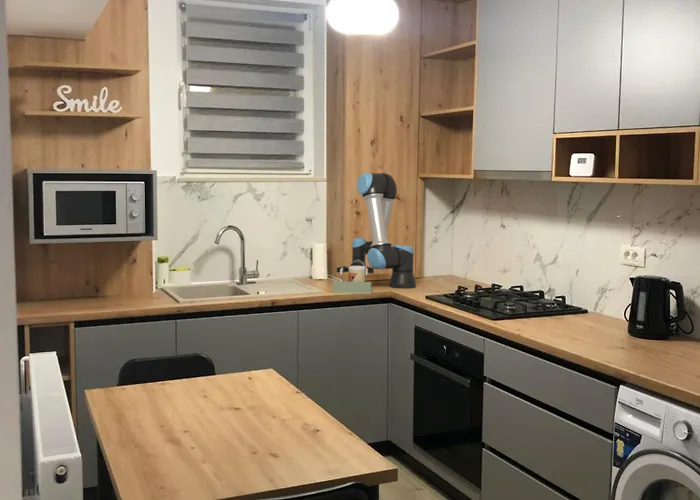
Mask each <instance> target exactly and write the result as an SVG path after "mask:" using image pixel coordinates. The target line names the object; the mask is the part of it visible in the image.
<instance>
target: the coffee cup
mask: <svg viewBox="0 0 700 500" xmlns="http://www.w3.org/2000/svg"><path fill="white" fill-rule="evenodd" d="M349 266H350V267H349V268H348V269H349V272H348V281H349V282H366V273H365V269H366V267H364V266H351V265H349Z"/></svg>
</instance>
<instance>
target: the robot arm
mask: <svg viewBox="0 0 700 500" xmlns="http://www.w3.org/2000/svg"><path fill="white" fill-rule="evenodd" d="M396 183H397V182H396V181H395V179H394V177H393V176H392V175H390V174H388V173H385V172H383V173H382V172H379V173H378V172H365V173H362V174H360V175H359V176H358V178H357V181H356V189H357V190H356V191H357V193H358V194H360V195H362V199H363V200H364V201H365V203H366V208H367V215H368V216H367V217H368V222H369V228H370V236H371V240H369V241H368V240H367V241H366V238H364V237H362V238H361V237H359V238H358V237H355V238H353V239H352V244H351V245H352V246H351V247H352V251H351V252H352V256H351V257H352V258H351V261H352V263H351V264H350V265H348V266H347V265H344V266H339V267H336V273H339V274H340V275H343V274H344V273H349V269H348V268H349V267H350V266H364V267H365V268H366V269H365V276H368V274H374V271H375V270H381V271H382V270H390V269H392V272H391V275H390V279H389V281H388V287H390V288H397V289H413V288H416V287H417V281H416V279H415V278H416V277H415V275H414V254H415V253H414V248H413V247H412V246H409V245H401V244H393V245H392V242H390V241H389V238H388V227H389V223H390V218H391V213H392V209H393V204H394V201H395V200H396V199H397V194H398V190H397V189H398V188H397V184H396ZM366 255H367V262H368V264H369V265H370V266H368V265H367V264H366Z"/></svg>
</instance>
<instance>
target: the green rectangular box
mask: <svg viewBox="0 0 700 500" xmlns="http://www.w3.org/2000/svg"><path fill="white" fill-rule="evenodd" d="M373 291H374V288H373V287H372V281H365V282H349V280H348V281H347V280H346V281H344V280H343V281H339V280H333V281H332V294H360V295H362V294H363V295H364V294H368V295H369V294H370V295H371V294H372V293H373Z"/></svg>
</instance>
